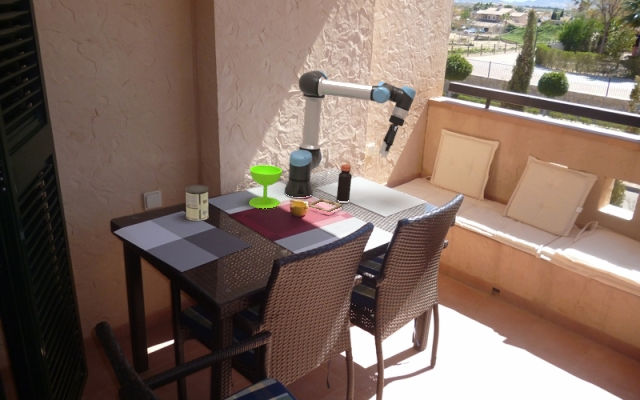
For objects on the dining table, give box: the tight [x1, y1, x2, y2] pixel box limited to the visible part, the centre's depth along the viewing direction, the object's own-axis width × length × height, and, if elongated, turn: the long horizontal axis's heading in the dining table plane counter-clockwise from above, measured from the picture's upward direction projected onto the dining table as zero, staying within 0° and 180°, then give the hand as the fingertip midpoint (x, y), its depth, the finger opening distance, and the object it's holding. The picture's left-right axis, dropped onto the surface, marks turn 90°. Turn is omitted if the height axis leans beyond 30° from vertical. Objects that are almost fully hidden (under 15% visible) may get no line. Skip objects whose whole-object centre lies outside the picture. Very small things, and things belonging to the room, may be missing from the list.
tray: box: [307, 198, 344, 212], centre depth 260 cm, size 13×13×2 cm
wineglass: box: [248, 164, 283, 210], centre depth 259 cm, size 16×16×18 cm
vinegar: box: [336, 164, 352, 201], centre depth 269 cm, size 7×7×20 cm
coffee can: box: [185, 184, 210, 222], centre depth 236 cm, size 10×10×14 cm
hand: (382, 155), depth 265 cm, fingers open, 13 cm apart
